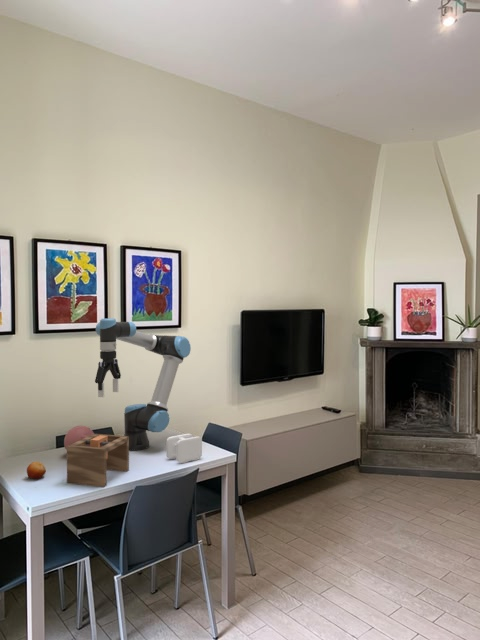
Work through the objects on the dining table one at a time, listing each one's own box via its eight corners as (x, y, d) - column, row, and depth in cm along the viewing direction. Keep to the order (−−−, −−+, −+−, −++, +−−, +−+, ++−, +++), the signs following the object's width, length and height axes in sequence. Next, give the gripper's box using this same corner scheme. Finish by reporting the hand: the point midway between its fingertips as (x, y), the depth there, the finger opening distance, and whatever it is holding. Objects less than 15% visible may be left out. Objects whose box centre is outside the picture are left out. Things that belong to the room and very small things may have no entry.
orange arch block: (90, 463, 211) (90, 439, 211) (99, 457, 219) (99, 435, 218) (98, 464, 210) (98, 440, 210) (107, 458, 218) (107, 435, 217)
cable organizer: (176, 465, 230) (176, 441, 230) (165, 459, 239) (165, 436, 238) (202, 459, 240) (202, 436, 240) (190, 454, 248) (190, 432, 248)
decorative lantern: (72, 464, 230) (72, 433, 230) (60, 455, 246) (59, 425, 246) (103, 459, 239) (103, 428, 239) (89, 449, 255) (89, 421, 255)
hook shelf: (94, 466, 227) (94, 433, 227) (128, 470, 223) (128, 436, 222) (66, 482, 206) (66, 446, 206) (104, 487, 201) (103, 449, 201)
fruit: (26, 471, 216) (35, 456, 216) (41, 480, 216) (50, 465, 217) (19, 478, 208) (29, 462, 208) (35, 487, 208) (44, 471, 209)
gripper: (101, 353, 215) (102, 399, 216) (127, 348, 240) (127, 390, 240) (86, 352, 217) (87, 398, 218) (114, 348, 241) (114, 389, 242)
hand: (108, 394), depth 229 cm, fingers open, 13 cm apart
